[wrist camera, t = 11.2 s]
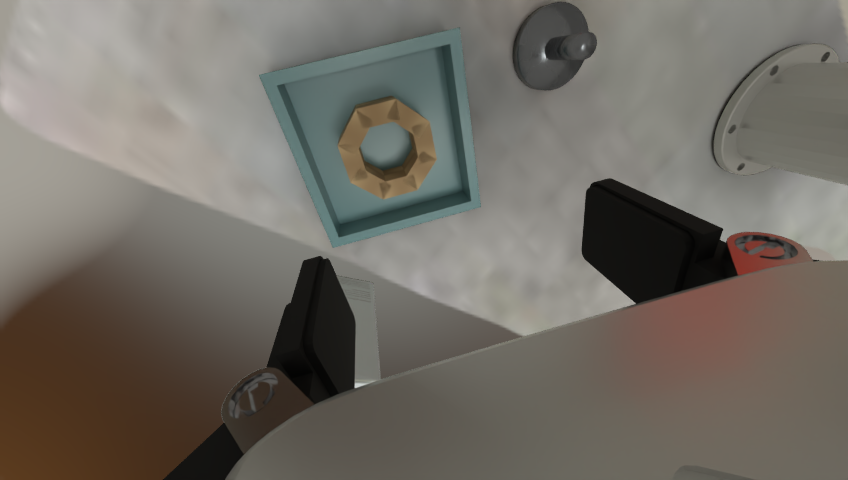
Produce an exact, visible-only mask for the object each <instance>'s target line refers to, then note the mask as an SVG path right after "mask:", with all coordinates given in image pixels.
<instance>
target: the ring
mask: <svg viewBox="0 0 848 480" xmlns="http://www.w3.org/2000/svg"><path fill="white" fill-rule="evenodd" d="M390 122H395V123H396V124H398V125H399V126H401V127H402V128H404V129H406V130H407V131H408V132H409V136H410V141H411V145H412V149H411V151H410V153H409V154H408V156H407V158H406V159H405V161H404V163H403V165H402V166H398V167H395V168H391V169H387V170H383V171H382V170H381V169H379V168H377V167H375V166H373V165H372V164H370V163H368V162H366V161H365V160H364V157H363V153H362V150H361V147H360V145H361V144H362V142H363V140H364V138H365V136H366V134H367V132H368V130H369V128H370V127H374V126H378V125H382V124H386V123H390ZM338 149H339V151H340V154H341V157H342V160H343V163H344V166H345V168H346V171H347V174H348V177H349V180H350V182H351V183H352V184H354V185H356V186H358V187H360V188H362V189H364V190H366V191H368V192H370V193H372V194H374V195H376V196H377V197H379V198H381V199H387V198H391V197H394V196H398V195H402V194H405V193H409V192H413V191H416V190H418V189H419V187H420V186H421V184H422V182H423V181H424V179H425V178H426V176H427V174H428V173H429V171H430V170H431V168H432V166H433V165H434V163H435V162H436V160H437V157H436V152H435V147H434V142H433V136H432V131H431V126H430V122H429V121H428V120H427V119H425V118H424V117H423V116H421V115H420V114H418V113H417V112H415V111H414V110H412V109H411V108H409V107H408V106H407V105H405V104H404V103H402V102H401V101H399V100H398V99H396V98H395V97H393V96H388V97H384V98H380V99H376V100H372V101H368V102H364V103H360V104H357V105H355V107H354V109H353V111H352V113H351V115H350V117H349V119H348V121H347V123H346V125H345V127H344V129H343V131H342V133H341V135H340V137H339V142H338Z"/></svg>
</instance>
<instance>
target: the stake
mask: <svg viewBox="0 0 848 480" xmlns="http://www.w3.org/2000/svg"><path fill="white" fill-rule="evenodd" d="M596 45H597V40H596V37H595V35H594V34H593V33H591V32H588V26H587V22H586V19H585V17H584V15H583V14H582V12H581V11H580V10H579V9H578V8H577V7H575V6H574V5H572V4H570V3H566V2H557V3H552V4H549V5H546V6H543V7H541V8H539V9H537V10H536V11H534V12H533V13H532V14H531V15H530V16H529V17H528V18H527V19H526V20H525V22H524V23H523V24H522V26H521V28H520V30H519V32H518V34H517V37H516V40H515V44H514V50H513V61H514V67H515V70H516V73H517V75H518V77H519V78H520V80H521V81H522V82H523V83H524V84H525V85H527V86H528V87H530V88H533V89H538V90H553V89H556V88H559V87H561V86H563V85H564V84H566V83H567V82H568V81H570V80H571V79H572V78H573V77H574V75H575V74H576V73H577V72H578V70H579V69H580V67H581V65H582V63H583V61H584V59H587V58H589V57H590V56H591V55H592V54H593V53H594V51H595V49H596Z"/></svg>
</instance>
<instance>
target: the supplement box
mask: <svg viewBox="0 0 848 480" xmlns="http://www.w3.org/2000/svg"><path fill="white" fill-rule="evenodd" d="M336 276H337V275H336ZM337 278H338V280H339V283H340V285H341V287H342V289H343V292H344V294H345V296H346V298H347V301H348V303H349V305H350V307H351V310H352V312H353V314H354V317H355V322H356V340H355V388H357V387H360V386H363V385H366V384H369V383H372V382H375V381H378V380H381V379H380V365H379V352H378V339H377V324H376V311H375V297H374V283H373V282H368V281H363V280H358V279H352V278H347V277H342V276H337Z"/></svg>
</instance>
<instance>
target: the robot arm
mask: <svg viewBox="0 0 848 480" xmlns="http://www.w3.org/2000/svg"><path fill="white" fill-rule="evenodd" d="M714 154H715V158H716V161H717V162H718V164H719V166H720V167H721V168H723V169H724V170H725V171H728V172H731V173H734V174H739V175H753V174H756V173H760V172H763V171H765V170H767V169H770V168H772V167H774V168H778V169H783V170H787V171H791V172H795V173H799V174H803V175H807V176H811V177H816V178H820V179H824V180H828V181H832V182H836V183H840V184H845V185H848V62H839V58H838V55H837V54H836V53H835V51H834V50H833V49H832V48H830V47H828V46H827V45H823V44H801V45H797V46H793V47H789V48H787V49H785V50H783V51H781V52H779V53H777V54H775V55H774V56H772V57H771V58H769V59H768V60H766V61H765V62H764V63H762V64H761V65H760V66H759V67H758V68H757V69H755V70H754V71H753V72H752V73H751V74H750V75H749V76H748V77H747V78H746V79H745V80H744V82H743V83H742V84H741V85H740V86H739V88H738V89H737V90H736V92H735V93H734V94H733V96H732V97H731V99H730V100H729V102H728V104H727V105H726V107H725V109H724V111H723V113H722V115H721V117H720V120H719V122H718V125H717V129H716V132H715V138H714ZM722 231H723V229H722V228H720V227H718V226H716V225H714V224H711V223H709V222H707V221H705V220H702V219H700V218H698V217H696V216H694V215H691V214H689V213H687V212H685V211H682V210H680V209H678V208H676V207H674V206H671V205H669V204H667V203H665V202H662V201H660V200H658V199H656V198H653V197H651V196H649V195H647V194H645V193H642V192H640V191H638V190H636V189H633V188H631V187H629V186H627V185H625V184H622V183H620V182H618V181H616V180H613V179H610V178H609V179H605V180H601V181H597V182H594V183H592V184H591V186H590V188H588V189H587V191H586V200H585V213H584V226H583V239H582V255H583V257H584V259H585V260H586V261H587V262H589V263H590V264H591V265H592V266H593V267H594V268H596V269H597V270H598V271H599V272H600V273H601V274H602V275H604V276H605V277H606V278H607V279H608V280H609V281H611V282H612V283H613V284H614V285H615V286H616V287H618V288H619V289H620V290H621V291H622V292H623V293H625V294H626V295H627V296H628V297H629V298H630V299H631V300H633V301H634V302H635V303H636V304H634V305H631V306H627V307H624V308H620V309H617V310H613V311H610V312H606V313H603V314H599V315H596V316H593V317H589V318H586V319H582V320H579V321H575V322H572V323H568V324H565V325H562V326H558V327H555V328H551V329H548V330H544V331H541V332H538V333H534V334H531V335H527V336H524V337H521V338H517V339H514V340H510V341H507V342H504V343H500V344H497V345H494V346H490V347H487V348H484V349H480V350H477V351H474V352H470V353H467V354H463V355H460V356H457V357H454V358H450V359H447V360H443V361H440V362H437V363H433V364H430V365H427V366H424V367H420V368H417V369H413V370H410V371H407V372H403V373H400V374H397V375H394V376H390V377H387V378H384V379H381V380H378V381H375V382H372V383H369V384H366V385H363V386H360V387H357V388H355V340H356V322H355V317H354V314H353V312H352V310H351V307H350V305H349V303H348V301H347V298H346V296H345V294H344V292H343V289H342V287H341V285H340V283H339V280H338V278H337V276H336V274H335V271H334V269H333V267H332V265H331V262H330V260H329V259H328V258H327V259H323V258H322V257H321V256H318V257H315V258H311V259H307V260H304V261H303V263H302V267H301V270H300V274H299V277H298V280H297V284H296V287H295V290H294V294H293V297H292V301H291V303H289V304H288V305H286V307H285V310H284V313H283V316H282V319H281V323H280V326H279V329H278V332H277V336H276V339H275V342H274V345H273V348H272V352H271V355H270V358H269V361H268V364H267V368H263V369H259V370H257V371H255V372H252V373H251V374H249V375H247V376H246V377H245V378H243V379H242V380H241V381H240V382H238V383H237V384H236V385H235V386H234V387H233V389H232V390H231V391H230V392H229V394H228V395H227V397H226V399H225V401H224V403H223V406H222V410H221V415H222V419H223V421H224V423H223V424H222V425H221V426H220V427H219V428H218V429H217V430H216V431H215V432H214V433H213V434H212V435H210V436H209V437H208V438H207V439H206V440H205V441H204V442H203V443H202V444H201V445H200V446H199V447H198V448H196V450H194V451H193V452H192V453H191V454H190V455H189V456H188V457H187V458H186V459H185V460H184V461H183V462H181V463H180V464H179V465H178V466H177V467H176V468H175V469H174V470H173V471H172V472H171V473H170V474H169V475H167V477H166V478H164V479H163V480H848V261H819V260H812V258H811V257H810V255H809V254H808V252H807V250H806V249H805V248H804V247H803V246H802V245H800V244H798V243H796V242H795V241H793V240H790V239H787V238H785V237H782V236H778V235H774V234H769V233H761V232H742V233H737V234H734V235H731V236H730V237H729V238H728V239H727V241H726V243H725V242H723V241H721V240H719V239H720V237H721V234H722Z"/></svg>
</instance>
